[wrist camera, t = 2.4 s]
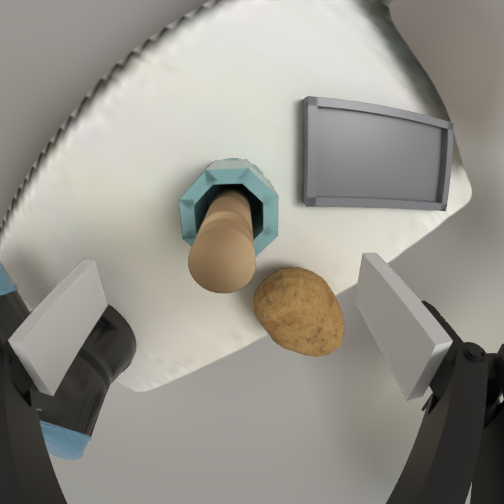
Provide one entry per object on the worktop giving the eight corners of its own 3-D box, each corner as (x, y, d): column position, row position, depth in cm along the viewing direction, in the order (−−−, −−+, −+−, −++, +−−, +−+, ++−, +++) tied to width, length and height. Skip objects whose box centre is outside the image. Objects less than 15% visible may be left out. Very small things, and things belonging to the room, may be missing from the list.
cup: (199, 229, 33) (184, 264, 24) (195, 160, 29) (175, 170, 21) (268, 227, 33) (278, 262, 24) (268, 157, 30) (279, 166, 21)
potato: (299, 342, 40) (308, 381, 33) (234, 285, 36) (232, 323, 29) (351, 304, 38) (371, 339, 31) (292, 237, 34) (305, 267, 26)
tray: (302, 201, 32) (306, 206, 30) (303, 99, 27) (308, 96, 25) (436, 206, 32) (445, 211, 30) (442, 122, 27) (453, 123, 25)
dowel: (217, 211, 31) (192, 293, 15) (215, 180, 29) (184, 233, 14) (249, 210, 31) (256, 292, 15) (248, 179, 30) (255, 231, 14)
